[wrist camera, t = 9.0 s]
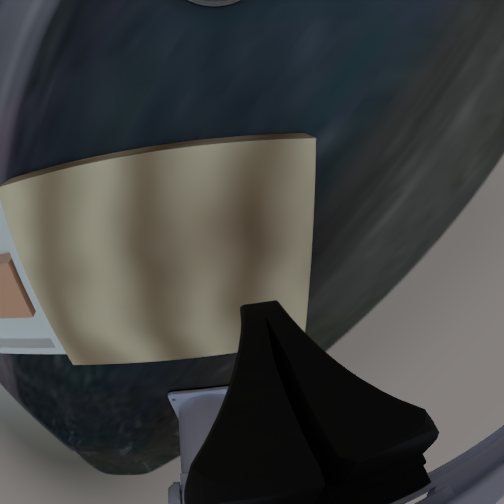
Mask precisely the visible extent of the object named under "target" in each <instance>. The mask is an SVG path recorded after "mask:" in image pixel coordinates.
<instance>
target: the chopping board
mask: <svg viewBox="0 0 504 504" xmlns="http://www.w3.org/2000/svg"><path fill="white" fill-rule="evenodd" d="M315 161H316V138H314V137H312V136H310V135H308V134H305V133H288V134H265V135H249V136H235V137H223V138H213V139H203V140H194V141H186V142H178V143H170V144H163V145H156V146H150V147H144V148H138V149H132V150H126V151H121V152H115V153H110V154H105V155H100V156H95V157H91V158H86V159H82V160H77V161H73V162H69V163H65V164H61V165H57V166H53V167H49V168H45V169H41V170H38V171H34V172H31V173H27V174H24V175H20V176H17V177H14V178H11V179H9V180H8V181H6V182H5V183H3V184H2V185H0V201H1V204H2V208H3V211H4V214H5V217H6V221H7V224H8V227H9V230H10V233H11V236H12V238H13V241H14V244H15V247H16V249H17V252H18V255H19V257H20V260H21V262H22V265H23V267H24V270H25V272H26V274H27V277H28V279H29V281H30V284H31V286H32V288H33V290H34V293H35V295H36V297H37V299H38V301H39V303H40V305H41V307H42V309H43V311H44V313H45V315H46V317H47V319H48V321H49V323H50V325H51V327H52V329H53V331H54V332H55V334H56V336H57V338H58V340H59V341H60V343H61V345H62V347H63V348H64V350H65V352H66V354H67V355H68V357H69V359H70V360H71V362H72V363H73V365H94V364H121V363H139V362H153V361H166V360H177V359H187V358H197V357H206V356H214V355H222V354H230V353H237V352H238V347H239V340H240V333H241V316H240V307H241V306H242V305H245V304H252V303H260V302H266V301H273V300H277V301H278V302H279V303H280V304H281V305H282V307H283V308H284V309H285V311H286V312H287V313H288V314H289V315H290V317H291V318H292V319H293V320H294V321H295V322H296V323H297V325H298V326H299V327H300V328H301V329H302V330H303V331H304V332H305V327H306V317H307V306H308V294H309V282H310V268H311V254H312V237H313V218H314V195H315Z"/></svg>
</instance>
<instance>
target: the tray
mask: <svg viewBox="0 0 504 504" xmlns="http://www.w3.org/2000/svg"><path fill="white" fill-rule="evenodd" d="M6 253H10V255H11V257H12V260H13V262H14V265H15V267H16V269H17V272H18V274H19V276H20V279H21V281H22V283H23V285H24V288H25V290H26V292H27V294H28V296H29V298H30V300H31V302H32V304H33V306H34V309H35V310H36V313H35V315H34V317H29V318H2V319H0V353H12V354H66V352H65V350H64V348H63V347H62V345H61V343H60V341H59V340H58V338H57V336H56V334H55V332H54V331H53V329H52V327H51V325H50V323H49V321H48V319H47V317H46V315H45V313H44V311H43V309H42V307H41V305H40V303H39V301H38V299H37V297H36V295H35V293H34V290H33V288H32V286H31V284H30V281H29V279H28V277H27V274H26V272H25V270H24V267H23V265H22V262H21V260H20V257H19V255H18V252H17V249H16V247H15V244H14V241H13V238H12V236H11V233H10V230H9V227H8V224H7V221H6V217H5V214H4V211H3V208H2V204H1V201H0V254H6Z"/></svg>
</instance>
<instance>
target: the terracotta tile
mask: <svg viewBox="0 0 504 504" xmlns="http://www.w3.org/2000/svg"><path fill="white" fill-rule="evenodd" d="M35 313H36V310H35V309H34V306H33V304H32V302H31V300H30V298H29V296H28V294H27V292H26V290H25V288H24V285H23V283H22V281H21V279H20V276H19V274H18V272H17V269H16V267H15V265H14V262H13V260H12V257H11V255H10V253H6V254H0V319H2V318H29V317H34V315H35Z"/></svg>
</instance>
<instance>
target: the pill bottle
mask: <svg viewBox="0 0 504 504" xmlns="http://www.w3.org/2000/svg"><path fill="white" fill-rule="evenodd" d="M188 1H190V2H193V3H196V4H199V5H204V6H224V5H229V4H232V3H235V2H238V1H240V0H188Z"/></svg>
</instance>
